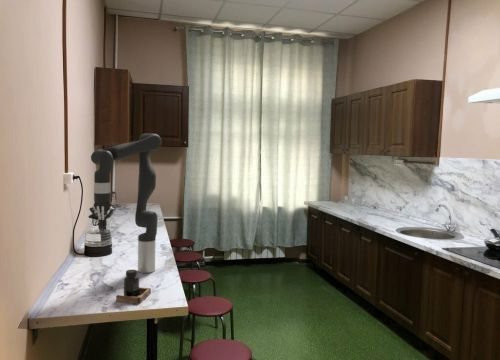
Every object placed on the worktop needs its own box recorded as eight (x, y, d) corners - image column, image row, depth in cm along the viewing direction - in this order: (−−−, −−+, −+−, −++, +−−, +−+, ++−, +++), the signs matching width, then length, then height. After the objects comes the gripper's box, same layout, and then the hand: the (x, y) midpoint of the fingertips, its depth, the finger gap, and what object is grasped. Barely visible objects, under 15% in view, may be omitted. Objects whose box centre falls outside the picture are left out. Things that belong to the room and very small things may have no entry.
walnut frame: (128, 291, 181) (128, 286, 181) (150, 293, 179) (150, 288, 179) (116, 301, 169) (116, 295, 169) (139, 303, 167) (140, 298, 167)
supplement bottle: (138, 293, 179) (139, 268, 178) (139, 298, 173) (140, 272, 172) (123, 294, 177) (123, 269, 176) (123, 300, 170) (124, 273, 169)
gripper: (119, 191, 188) (119, 226, 189) (93, 190, 190) (94, 224, 191) (111, 193, 180) (111, 229, 182) (85, 192, 182) (85, 228, 184)
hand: (102, 227), depth 187 cm, fingers closed
